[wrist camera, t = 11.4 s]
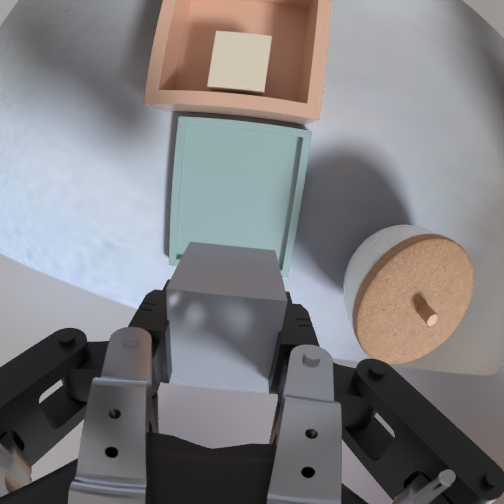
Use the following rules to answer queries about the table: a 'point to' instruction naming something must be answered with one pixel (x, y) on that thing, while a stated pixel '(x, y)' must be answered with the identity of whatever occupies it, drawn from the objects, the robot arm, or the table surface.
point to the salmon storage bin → (244, 21)
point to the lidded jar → (406, 292)
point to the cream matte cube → (239, 63)
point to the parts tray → (237, 186)
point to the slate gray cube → (225, 316)
